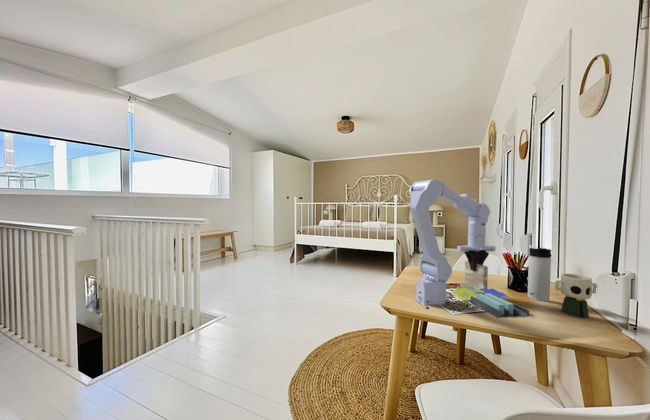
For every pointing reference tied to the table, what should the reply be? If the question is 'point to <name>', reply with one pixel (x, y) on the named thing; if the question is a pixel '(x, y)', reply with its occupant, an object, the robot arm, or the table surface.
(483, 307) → the rack
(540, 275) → the travel mug
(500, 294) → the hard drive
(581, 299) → the character mug
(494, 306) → the offcut
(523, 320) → the table surface
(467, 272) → the birch sheet
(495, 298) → the offcut
